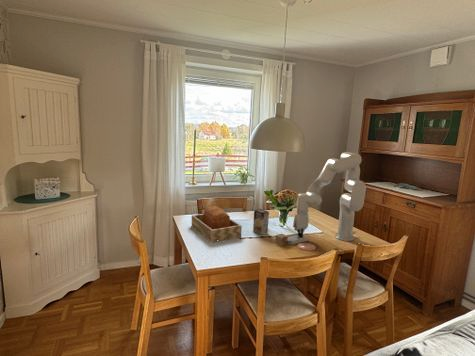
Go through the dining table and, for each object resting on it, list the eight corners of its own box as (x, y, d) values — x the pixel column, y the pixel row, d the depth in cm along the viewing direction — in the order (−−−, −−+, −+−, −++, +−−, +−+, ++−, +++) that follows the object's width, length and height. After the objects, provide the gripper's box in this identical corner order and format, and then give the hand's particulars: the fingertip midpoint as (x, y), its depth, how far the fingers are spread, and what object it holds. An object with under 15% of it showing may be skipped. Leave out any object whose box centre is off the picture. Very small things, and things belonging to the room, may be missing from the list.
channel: (298, 236, 197) (298, 232, 197) (307, 240, 189) (307, 237, 189) (282, 239, 190) (282, 236, 189) (291, 244, 182) (291, 240, 182)
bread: (212, 237, 190) (213, 214, 187) (201, 224, 213) (202, 204, 210) (231, 234, 195) (232, 213, 193) (218, 222, 219) (219, 203, 216)
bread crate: (218, 221, 221) (218, 211, 220) (241, 236, 192) (241, 225, 191) (191, 225, 210) (191, 215, 208) (211, 242, 181) (211, 230, 179)
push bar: (296, 239, 193) (296, 234, 192) (301, 241, 188) (301, 237, 188) (282, 242, 186) (283, 238, 185) (288, 245, 182) (288, 240, 181)
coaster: (306, 242, 186) (306, 241, 186) (319, 248, 177) (319, 247, 177) (294, 245, 181) (294, 244, 181) (306, 252, 172) (306, 251, 171)
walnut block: (281, 241, 187) (282, 233, 186) (287, 244, 182) (287, 236, 182) (275, 242, 184) (275, 234, 183) (281, 245, 179) (281, 237, 179)
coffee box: (252, 231, 202) (253, 210, 200) (258, 229, 207) (259, 208, 204) (262, 235, 196) (263, 213, 193) (268, 233, 201) (269, 211, 198)
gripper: (306, 209, 196) (304, 234, 199) (289, 211, 188) (288, 237, 191) (314, 212, 189) (312, 237, 192) (297, 214, 182) (295, 241, 185)
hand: (300, 237), depth 192 cm, fingers closed
